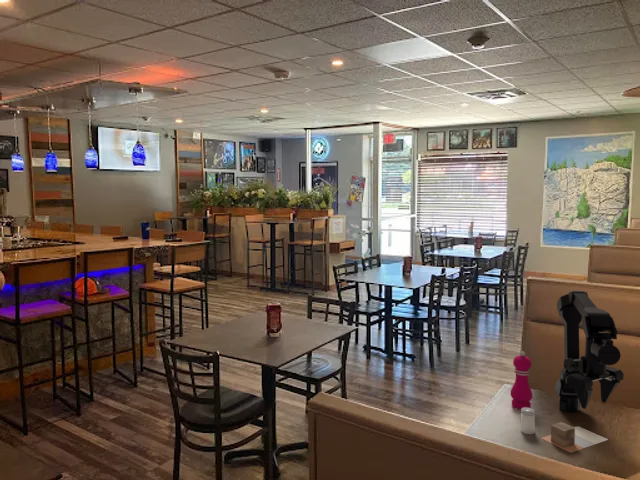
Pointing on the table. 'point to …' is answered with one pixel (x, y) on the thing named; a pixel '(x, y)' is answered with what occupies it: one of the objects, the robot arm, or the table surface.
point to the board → (580, 440)
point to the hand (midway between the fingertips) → (593, 405)
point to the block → (562, 434)
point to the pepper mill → (521, 382)
